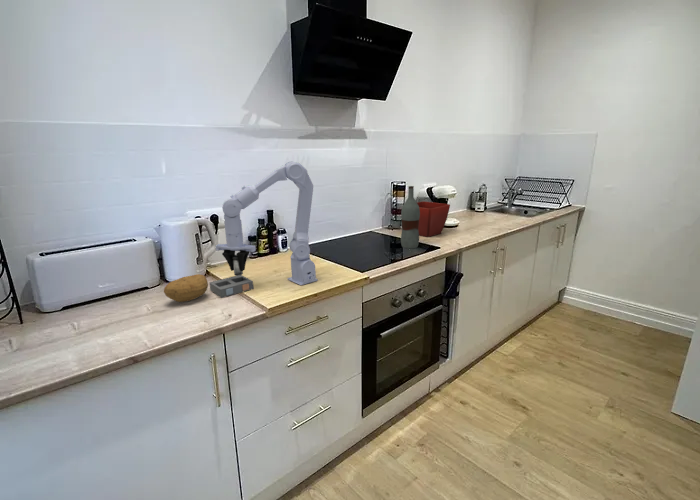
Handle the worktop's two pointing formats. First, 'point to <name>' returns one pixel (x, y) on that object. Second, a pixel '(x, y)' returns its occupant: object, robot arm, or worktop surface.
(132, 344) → the worktop surface
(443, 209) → the plant pot
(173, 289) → the potato
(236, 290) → the socket strip
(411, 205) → the bottle
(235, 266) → the jar
